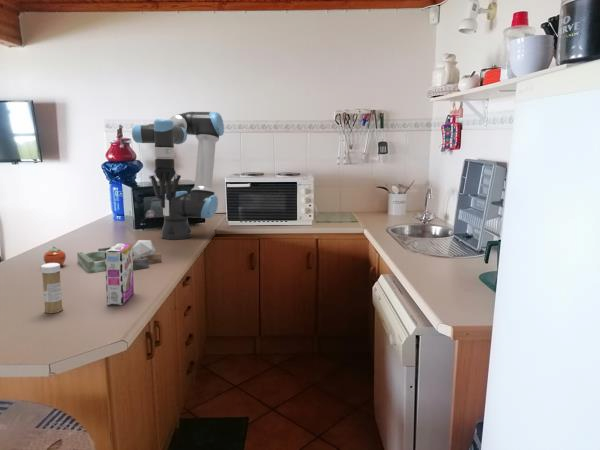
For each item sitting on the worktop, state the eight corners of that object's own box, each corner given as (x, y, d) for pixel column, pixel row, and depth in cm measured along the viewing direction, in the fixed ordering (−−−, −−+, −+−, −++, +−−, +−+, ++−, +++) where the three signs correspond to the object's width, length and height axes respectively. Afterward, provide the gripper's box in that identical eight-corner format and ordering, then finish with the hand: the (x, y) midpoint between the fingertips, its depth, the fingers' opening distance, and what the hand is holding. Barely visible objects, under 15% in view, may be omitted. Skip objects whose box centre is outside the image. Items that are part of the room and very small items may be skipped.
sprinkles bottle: (45, 309, 124) (41, 263, 121) (63, 307, 126) (59, 261, 123) (44, 315, 120) (40, 267, 117) (63, 312, 122) (59, 265, 119)
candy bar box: (124, 305, 128) (121, 251, 125) (106, 306, 127) (103, 251, 124) (135, 293, 139) (133, 242, 136) (118, 293, 138) (116, 242, 135)
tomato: (41, 269, 161) (40, 248, 160) (47, 264, 168) (45, 244, 167) (64, 268, 163) (62, 247, 162) (68, 263, 170) (67, 243, 169)
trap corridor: (142, 251, 192) (141, 242, 192) (166, 265, 172) (166, 255, 171) (74, 260, 176) (74, 250, 175) (92, 276, 155) (91, 265, 154)
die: (141, 264, 174) (156, 244, 175) (124, 253, 174) (138, 233, 176) (148, 266, 182) (162, 247, 183) (131, 255, 182) (145, 236, 184)
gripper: (152, 158, 172) (154, 217, 176) (183, 158, 180) (184, 215, 184) (145, 157, 177) (147, 215, 181) (176, 158, 185) (177, 213, 189)
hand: (166, 215), depth 182 cm, fingers closed
